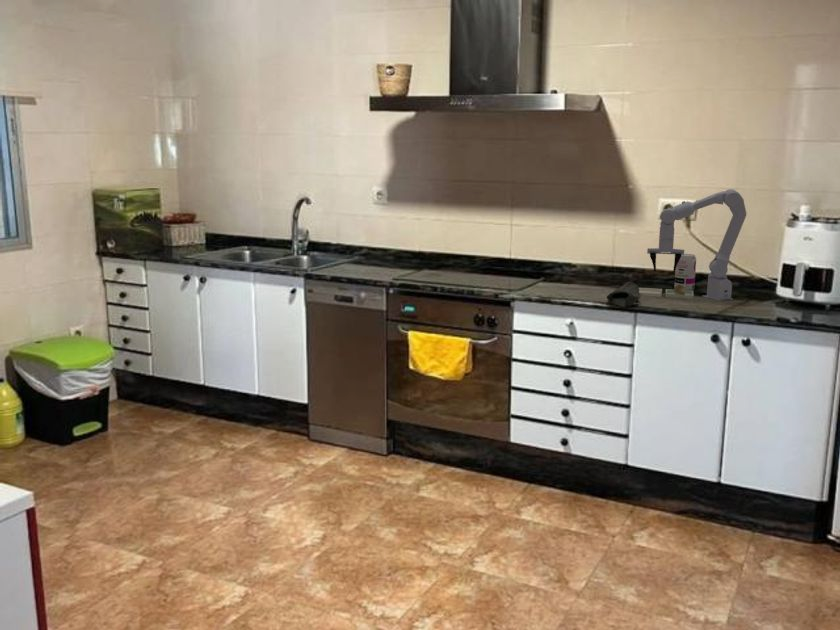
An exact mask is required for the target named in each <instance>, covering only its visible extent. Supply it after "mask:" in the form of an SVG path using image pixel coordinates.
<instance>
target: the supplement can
mask: <svg viewBox="0 0 840 630" xmlns="http://www.w3.org/2000/svg"><path fill="white" fill-rule="evenodd" d="M696 267H697V257H696V255H695V254H692V253H684V255H681V258H680V260H679V262H678V264H677V266H676V270H675V272H674V289H675V285H685V290H689V291H693V290H694V289H695V281H696V270H697V268H696Z"/></svg>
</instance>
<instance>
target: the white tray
mask: <svg viewBox="0 0 840 630" xmlns="http://www.w3.org/2000/svg"><path fill="white" fill-rule="evenodd" d="M638 288H639V293H640V294H641V297H654V298H656V297H657V298H661V297H662V295H663V293H662V292H663V288H654V287H653V288H652V287H651V288H650V287H638Z"/></svg>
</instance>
